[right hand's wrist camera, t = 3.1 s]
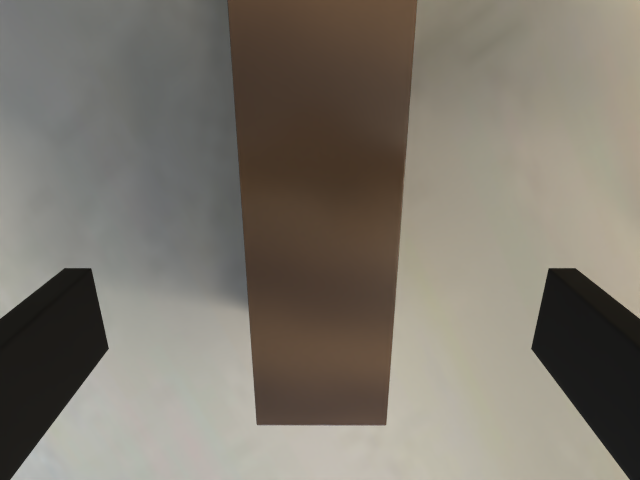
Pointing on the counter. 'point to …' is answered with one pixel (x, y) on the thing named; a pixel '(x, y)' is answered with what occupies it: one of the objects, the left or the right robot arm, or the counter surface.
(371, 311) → the beam
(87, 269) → the right robot arm
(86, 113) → the counter surface
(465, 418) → the counter surface
